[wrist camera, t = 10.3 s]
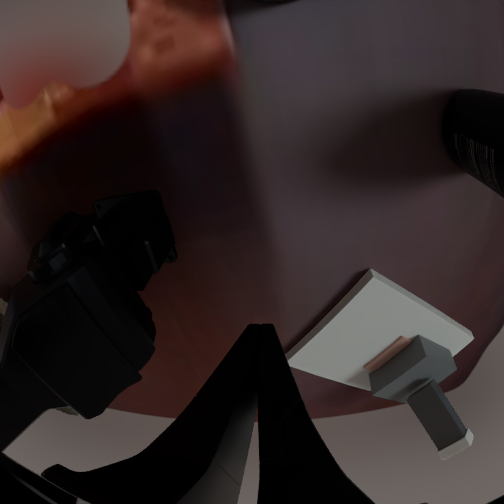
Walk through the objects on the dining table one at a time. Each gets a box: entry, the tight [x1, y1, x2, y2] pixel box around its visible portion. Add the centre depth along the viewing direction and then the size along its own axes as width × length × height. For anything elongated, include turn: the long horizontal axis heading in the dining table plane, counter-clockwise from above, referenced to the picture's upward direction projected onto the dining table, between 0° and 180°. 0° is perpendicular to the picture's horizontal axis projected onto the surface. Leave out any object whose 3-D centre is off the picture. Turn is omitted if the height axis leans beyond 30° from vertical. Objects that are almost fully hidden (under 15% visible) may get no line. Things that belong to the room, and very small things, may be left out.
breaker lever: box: [406, 379, 473, 461], centre depth 22 cm, size 2×4×10 cm
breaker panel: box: [285, 268, 474, 404], centre depth 27 cm, size 19×14×4 cm
